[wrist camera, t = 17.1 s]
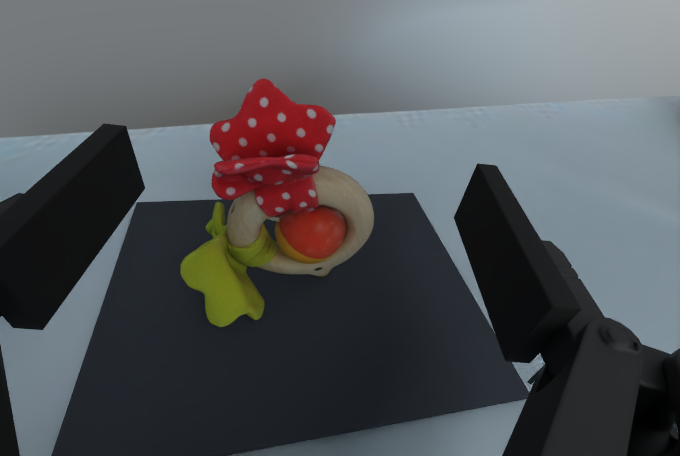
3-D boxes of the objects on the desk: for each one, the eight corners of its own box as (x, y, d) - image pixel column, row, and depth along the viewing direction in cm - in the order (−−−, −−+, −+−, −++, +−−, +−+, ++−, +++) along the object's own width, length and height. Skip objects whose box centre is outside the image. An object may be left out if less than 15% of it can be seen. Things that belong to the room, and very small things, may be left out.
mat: (412, 196, 28) (413, 192, 28) (527, 398, 17) (531, 395, 17) (138, 206, 24) (136, 202, 24) (44, 490, 13) (40, 487, 12)
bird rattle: (304, 256, 25) (161, 233, 20) (394, 116, 19) (227, 36, 14) (329, 335, 20) (154, 331, 15) (454, 184, 15) (244, 103, 10)
